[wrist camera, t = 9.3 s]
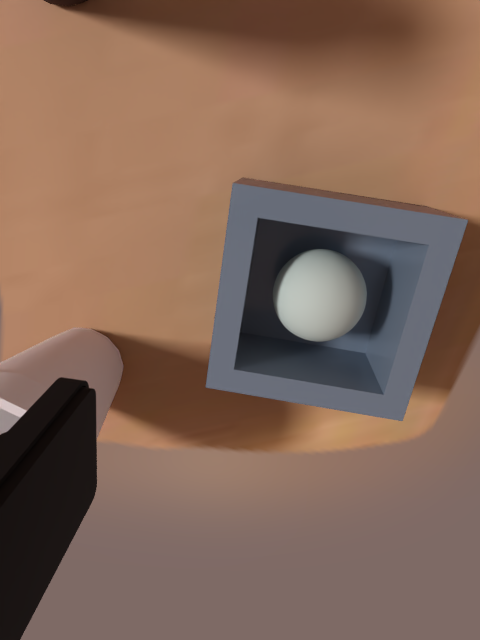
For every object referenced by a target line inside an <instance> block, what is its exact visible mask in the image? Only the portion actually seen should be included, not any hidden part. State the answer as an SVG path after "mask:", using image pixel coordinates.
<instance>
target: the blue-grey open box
mask: <svg viewBox="0 0 480 640" xmlns="http://www.w3.org/2000/svg"><path fill="white" fill-rule="evenodd" d="M467 222H468V220H467V219H464V218H461V217H458V216H454V215H451V214H448V213H445V212H442V211H439V210H436V209H433V208H430V207H427V206H421V205H415V204H408V203H402V202H395V201H389V200H383V199H376V198H370V197H364V196H357V195H351V194H344V193H338V192H332V191H325V190H319V189H313V188H306V187H300V186H293V185H287V184H281V183H274V182H268V181H262V180H255V179H249V178H241V179H239V180H237V181H235V182H234V183H233V185H232V193H231V200H230V208H229V215H228V223H227V230H226V238H225V245H224V253H223V260H222V268H221V275H220V283H219V290H218V298H217V305H216V313H215V320H214V328H213V335H212V343H211V350H210V358H209V365H208V373H207V380H206V388H211V389H217V390H223V391H229V392H235V393H241V394H246V395H252V396H258V397H264V398H270V399H276V400H282V401H287V402H293V403H299V404H305V405H311V406H317V407H323V408H329V409H334V410H340V411H346V412H352V413H358V414H364V415H370V416H375V417H381V418H387V419H393V420H399V421H403V418H404V415H405V412H406V409H407V406H408V403H409V400H410V397H411V394H412V390H413V387H414V384H415V381H416V378H417V375H418V372H419V369H420V366H421V363H422V360H423V357H424V354H425V351H426V348H427V345H428V342H429V338H430V335H431V332H432V329H433V326H434V323H435V320H436V317H437V314H438V311H439V308H440V305H441V302H442V299H443V296H444V293H445V290H446V286H447V283H448V280H449V277H450V274H451V271H452V268H453V265H454V262H455V259H456V256H457V253H458V250H459V247H460V244H461V241H462V237H463V234H464V231H465V228H466V225H467ZM313 249H328V250H332V251H336V252H338V253H341V254H343V255H344V256H346V257H347V258H349V259H350V260H351V261H352V262H353V263H354V264H355V265H356V266H357V267H358V269H359V270H360V272H361V273H362V276H363V278H364V281H365V284H366V290H367V299H366V305H365V309H364V312H363V314H362V316H361V318H360V319H359V321H358V322H357V324H356V325H355V326H354V327H353V328H352V329H351V330H350V331H349V332H347V333H346V334H344V335H343V336H341V337H339V338H336V339H333V340H329V341H323V342H316V341H309V340H305V339H303V338H300V337H298V336H296V335H294V334H293V333H292V332H290V331H289V330H288V329H287V328H286V327H285V326H284V325H283V324H282V322H281V321H280V319H279V318H278V316H277V314H276V311H275V308H274V303H273V287H274V283H275V280H276V278H277V275H278V273H279V272H280V270H281V269H282V267H283V266H284V265H285V264H286V263H287V262H288V261H289V260H290V259H292V258H293V257H294V256H296V255H298V254H300V253H302V252H305V251H308V250H313Z"/></svg>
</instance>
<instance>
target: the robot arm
mask: <svg viewBox="0 0 480 640" xmlns="http://www.w3.org/2000/svg"><path fill="white" fill-rule="evenodd" d="M96 453H97V449H96V391H95V389H93V388H89V385H88V382H87V381H84V380H77V379H70V378H64V377H60V378H58V379H57V380H56V381H55V382H54V383H53V384H52V385H51V386H50V387H49V388H48V389H47V390H46V391H45V392H44V393H43V395H42V396H41V397H40V398H39V399H38V400H37V401H36V402H35V403H34V404H33V405H32V406H31V407H30V408H29V409H28V410H27V411H26V412H25V414H24V415H23V416H22V417H21V418H20V419H19V420H18V421H17V422H16V423H15V424H14V425H13V426H12V427H11V428H10V429H9V430H8V431H7V432H5V433H2V434H1V435H0V640H20V639H21V637H22V635H23V633H24V631H25V629H26V627H27V625H28V623H29V621H30V620H31V618H32V615H33V614H34V612H35V610H36V608H37V606H38V604H39V602H40V600H41V598H42V596H43V594H44V593H45V591H46V589H47V587H48V585H49V583H50V581H51V579H52V577H53V575H54V574H55V572H56V570H57V568H58V566H59V564H60V562H61V560H62V558H63V556H64V555H65V553H66V551H67V549H68V547H69V545H70V543H71V541H72V539H73V537H74V535H75V533H76V532H77V530H78V528H79V526H80V524H81V522H82V520H83V518H84V516H85V514H86V513H87V511H88V509H89V507H90V505H91V503H92V501H93V498H94V496H95V492H96V487H97V460H96V459H97V458H96V457H97V454H96Z"/></svg>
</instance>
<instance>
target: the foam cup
mask: <svg viewBox="0 0 480 640" xmlns="http://www.w3.org/2000/svg"><path fill="white" fill-rule="evenodd" d="M123 367H124V365H123V362H122V359H121V355H120V352H119V350H118V349H117V347H116V346H115V345H114V344H113V343H112V342H111V340H110V339H109V338H108V337H107V336H105V335H103V334H101V333H99V332H97V331H95V330H93V329H88V328H72V329H69V330H67V331H65V332H62V333H60V334H58V335H55V336H53V337H51V338H49V339H47V340H45V341H43V342H41V343H39V344H37V345H35V346H33V347H31V348H29V349H27V350H25V351H23V352H21V353H19V354H17V355H15V356H13V357H11V358H9V359H7V360H5V361H3V362H1V363H0V435H1V434H2V433H5V432H7V431H8V430H9V429H10V428H11V427H12V426H13V425H14V424H15V423H16V422H17V421H18V420H19V419H20V418H21V417H22V416H23V415H24V414H25V412H26V411H27V410H28V409H29V408H30V407H31V406H32V405H33V404H34V403H35V402H36V401H37V400H38V399H39V398H40V397H41V396H42V395H43V393H44V392H45V391H46V390H47V389H48V388H49V387H50V386H51V385H52V384H53V383H54V382H55V381H56V380H57V379H58V378H60V377H64V378H70V379H77V380H84V381H87V382H88V385H89V388H93V389H95V391H96V439H97V437H98V435H99V432H100V430H101V427H102V425H103V423H104V420H105V418H106V415H107V413H108V411H109V408H110V406H111V403H112V401H113V399H114V396H115V394H116V391H117V389H118V387H119V383H120V381H121V377H122V372H123Z"/></svg>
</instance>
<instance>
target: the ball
mask: <svg viewBox="0 0 480 640" xmlns="http://www.w3.org/2000/svg"><path fill="white" fill-rule="evenodd" d="M366 299H367V290H366V284H365V281H364V278H363V276H362V273H361V272H360V270H359V269H358V267H357V266H356V265H355V264H354V263H353V262H352V261H351V260H350V259H349V258H347V257H346V256H344V255H343V254H341V253H338V252H336V251H332V250H328V249H313V250H308V251H305V252H302V253H300V254H298V255H296V256H294V257H293V258H292V259H290V260H289V261H288V262H287V263H286V264H285V265H284V266H283V267H282V269H281V270H280V272H279V273H278V275H277V278H276V280H275V283H274V287H273V303H274V308H275V311H276V314H277V316H278V318H279V319H280V321H281V322H282V324H283V325H284V326H285V327H286V328H287V329H288V330H289V331H290V332H292V333H293V334H294V335H296V336H298V337H300V338H303V339H305V340H309V341H316V342H323V341H329V340H333V339H336V338H339V337H341V336H343V335H344V334H346V333H347V332H349V331H350V330H351V329H352V328H353V327H354V326H355V325H356V324H357V322H358V321H359V319H360V318H361V316H362V314H363V312H364V309H365V305H366Z"/></svg>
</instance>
